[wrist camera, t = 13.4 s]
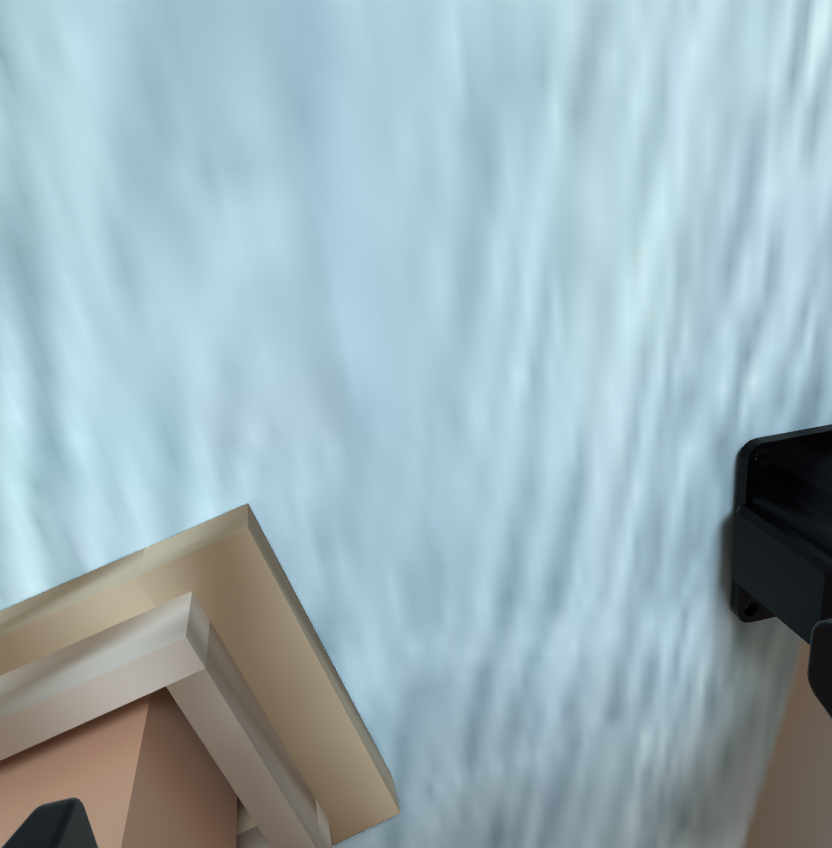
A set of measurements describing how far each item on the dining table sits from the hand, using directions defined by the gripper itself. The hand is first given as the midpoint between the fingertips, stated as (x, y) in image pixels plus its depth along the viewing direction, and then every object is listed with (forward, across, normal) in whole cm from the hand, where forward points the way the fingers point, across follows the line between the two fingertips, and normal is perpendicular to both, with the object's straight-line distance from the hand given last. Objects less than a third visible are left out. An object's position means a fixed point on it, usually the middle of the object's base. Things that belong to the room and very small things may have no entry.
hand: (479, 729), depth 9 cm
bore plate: (+12, +8, +9) cm, 17 cm away
